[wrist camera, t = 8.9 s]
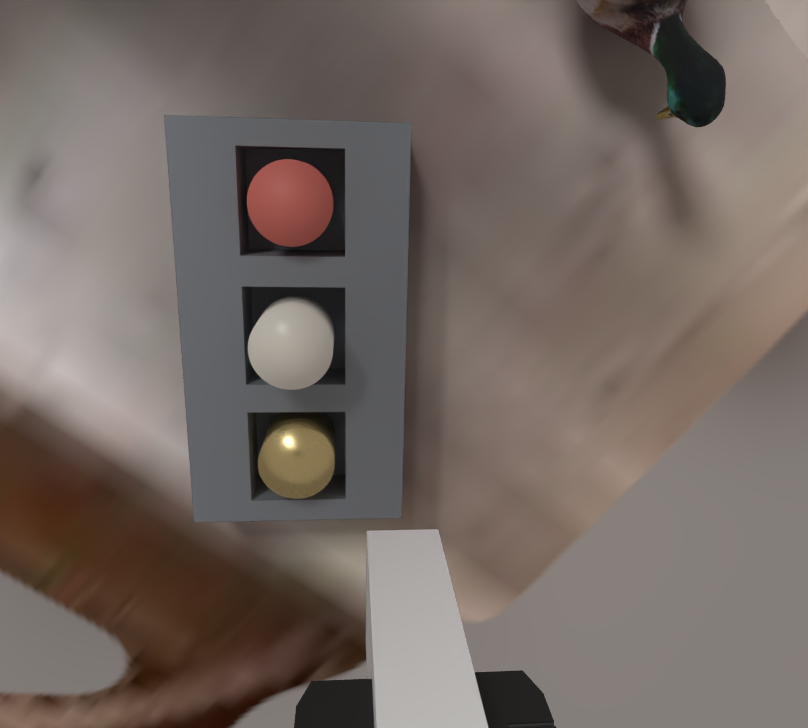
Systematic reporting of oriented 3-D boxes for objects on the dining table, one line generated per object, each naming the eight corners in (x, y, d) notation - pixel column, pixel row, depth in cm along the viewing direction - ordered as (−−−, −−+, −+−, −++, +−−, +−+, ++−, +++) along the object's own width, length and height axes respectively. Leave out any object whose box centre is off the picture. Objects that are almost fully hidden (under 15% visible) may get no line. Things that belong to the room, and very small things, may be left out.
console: (208, 490, 41) (194, 522, 37) (184, 121, 35) (164, 115, 31) (396, 487, 42) (401, 518, 38) (404, 128, 36) (411, 122, 32)
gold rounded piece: (266, 472, 40) (259, 499, 36) (264, 407, 39) (256, 429, 35) (335, 471, 40) (334, 498, 37) (335, 406, 39) (334, 428, 36)
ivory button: (258, 370, 36) (249, 389, 33) (255, 295, 35) (245, 308, 32) (334, 370, 36) (333, 389, 33) (334, 296, 35) (332, 308, 32)
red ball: (257, 239, 36) (248, 246, 32) (254, 159, 35) (245, 157, 31) (334, 240, 36) (333, 247, 33) (334, 161, 35) (332, 160, 32)
